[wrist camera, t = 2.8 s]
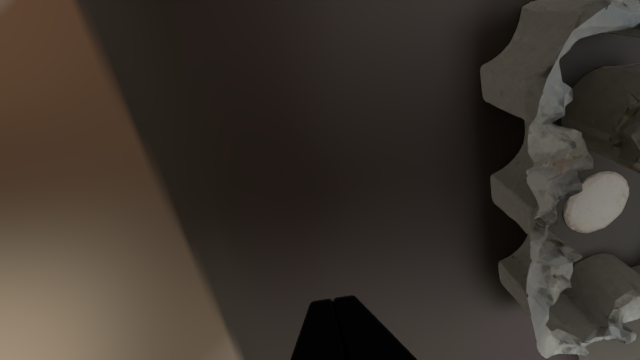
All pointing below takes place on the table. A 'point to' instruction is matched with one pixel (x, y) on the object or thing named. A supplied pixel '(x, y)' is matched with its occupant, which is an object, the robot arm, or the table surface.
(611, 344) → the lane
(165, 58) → the table surface
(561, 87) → the egg carton
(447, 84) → the table surface
